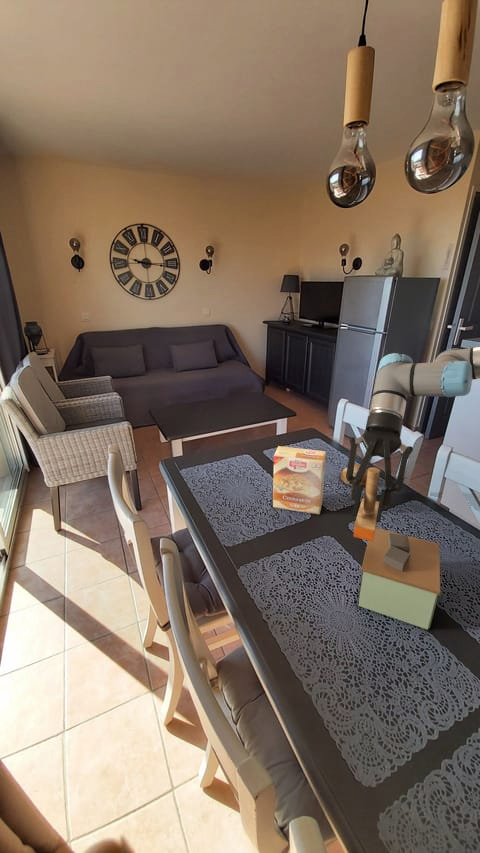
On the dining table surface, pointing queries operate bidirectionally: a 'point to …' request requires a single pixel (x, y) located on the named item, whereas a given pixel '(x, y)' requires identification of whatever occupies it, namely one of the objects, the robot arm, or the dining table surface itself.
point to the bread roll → (356, 467)
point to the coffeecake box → (298, 479)
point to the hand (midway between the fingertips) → (366, 518)
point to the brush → (368, 508)
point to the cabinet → (401, 581)
